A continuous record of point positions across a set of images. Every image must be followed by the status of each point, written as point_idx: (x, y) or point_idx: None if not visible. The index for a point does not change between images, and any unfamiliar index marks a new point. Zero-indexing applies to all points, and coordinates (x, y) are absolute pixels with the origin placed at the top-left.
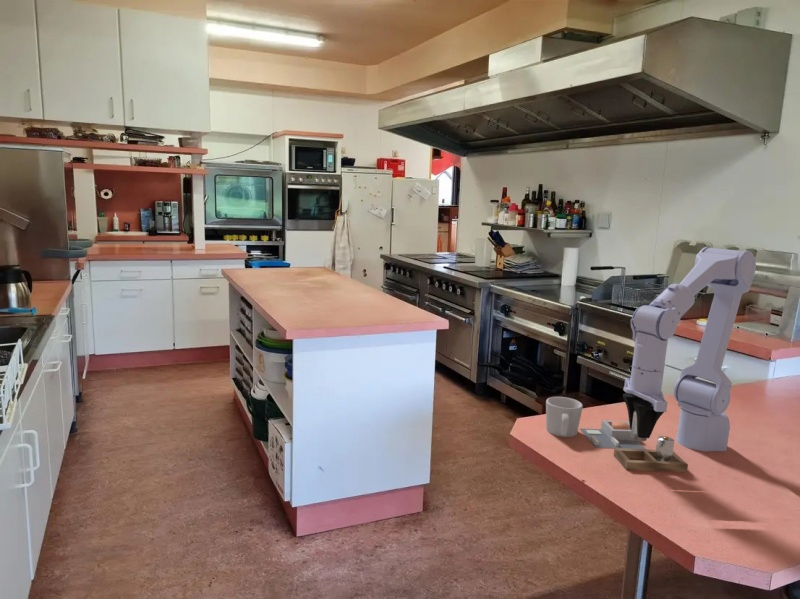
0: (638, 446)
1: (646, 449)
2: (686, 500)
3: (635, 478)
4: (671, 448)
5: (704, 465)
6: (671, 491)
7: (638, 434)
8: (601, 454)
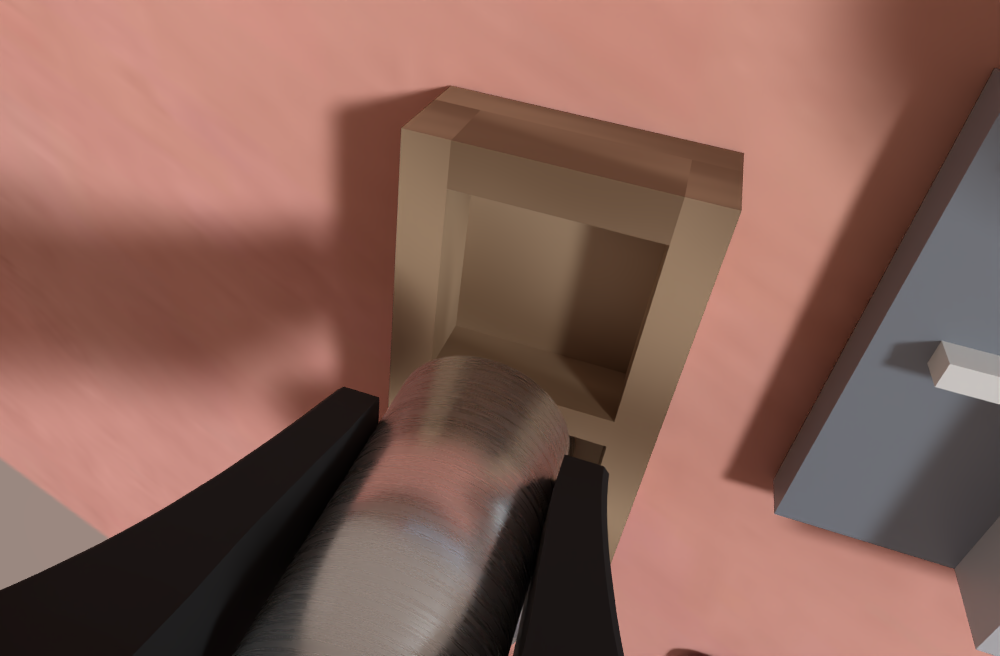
0: (850, 501)
1: (644, 465)
2: (154, 268)
3: None
4: None
5: None
6: (245, 262)
7: (328, 404)
8: (929, 127)
